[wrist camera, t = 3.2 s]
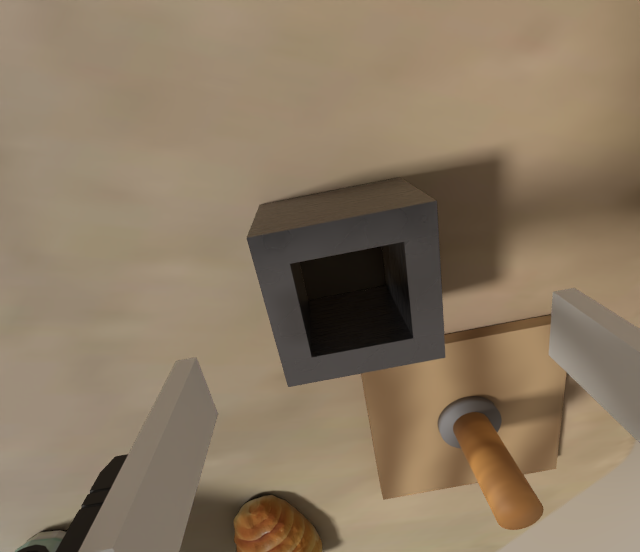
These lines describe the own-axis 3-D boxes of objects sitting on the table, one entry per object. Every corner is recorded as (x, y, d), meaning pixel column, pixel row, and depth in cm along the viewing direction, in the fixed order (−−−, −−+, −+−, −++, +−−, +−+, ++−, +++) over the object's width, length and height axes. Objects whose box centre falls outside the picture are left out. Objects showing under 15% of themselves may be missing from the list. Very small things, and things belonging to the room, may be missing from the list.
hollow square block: (289, 324, 24) (288, 387, 19) (259, 204, 21) (246, 238, 16) (411, 301, 24) (445, 357, 19) (399, 177, 21) (436, 200, 15)
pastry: (215, 503, 31) (205, 552, 28) (290, 478, 31) (290, 525, 27) (261, 564, 35) (258, 614, 31) (329, 543, 34) (334, 592, 31)
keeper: (380, 488, 31) (406, 603, 24) (357, 351, 25) (381, 447, 18) (548, 458, 31) (626, 565, 23) (562, 312, 25) (671, 395, 18)
